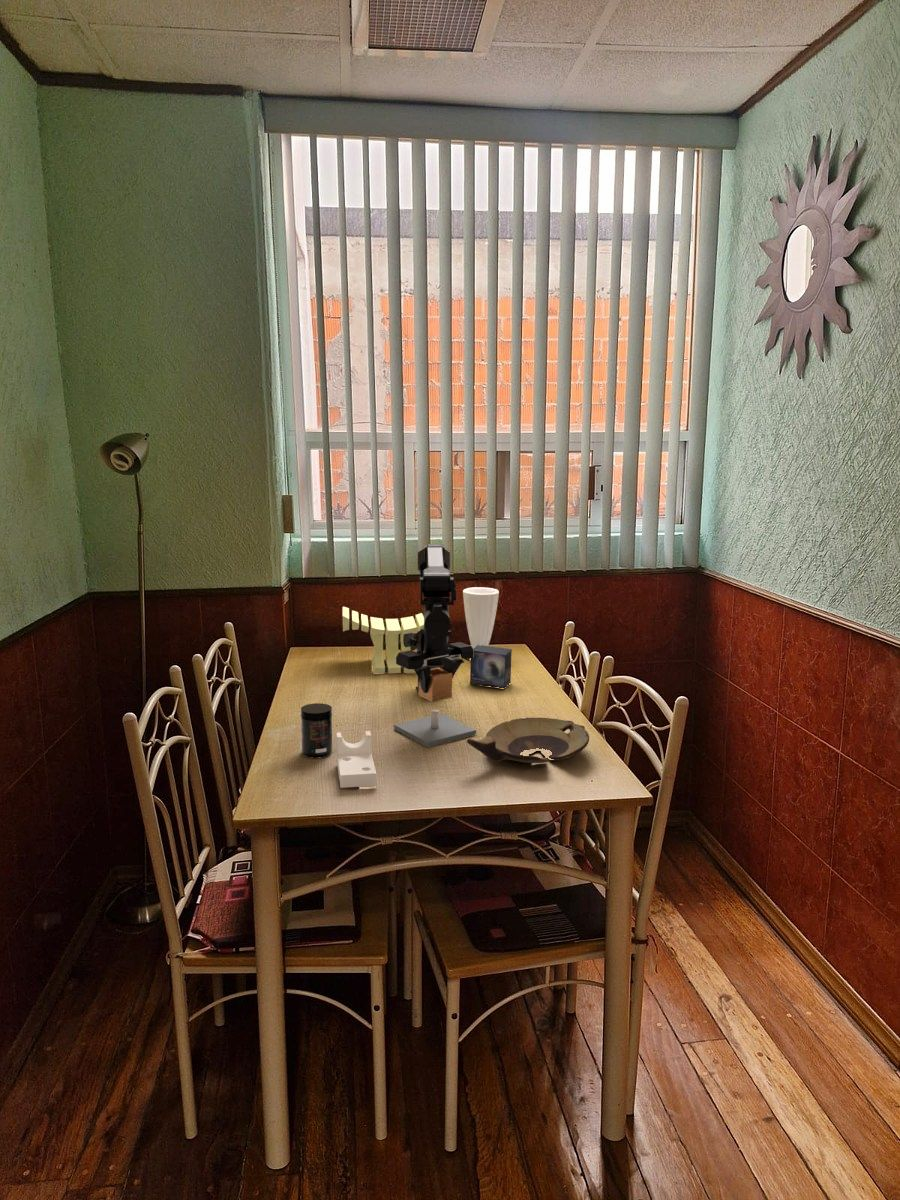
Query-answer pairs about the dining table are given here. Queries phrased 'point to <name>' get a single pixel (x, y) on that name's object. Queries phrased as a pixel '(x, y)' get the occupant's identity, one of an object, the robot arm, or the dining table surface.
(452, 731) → the stand
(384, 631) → the slatted curved stool
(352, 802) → the dining table surface
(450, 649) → the robot arm
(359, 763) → the bracket
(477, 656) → the small box
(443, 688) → the hollow wooden cube
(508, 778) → the dining table surface
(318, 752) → the supplement container
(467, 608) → the cup
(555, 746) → the oil lamp
